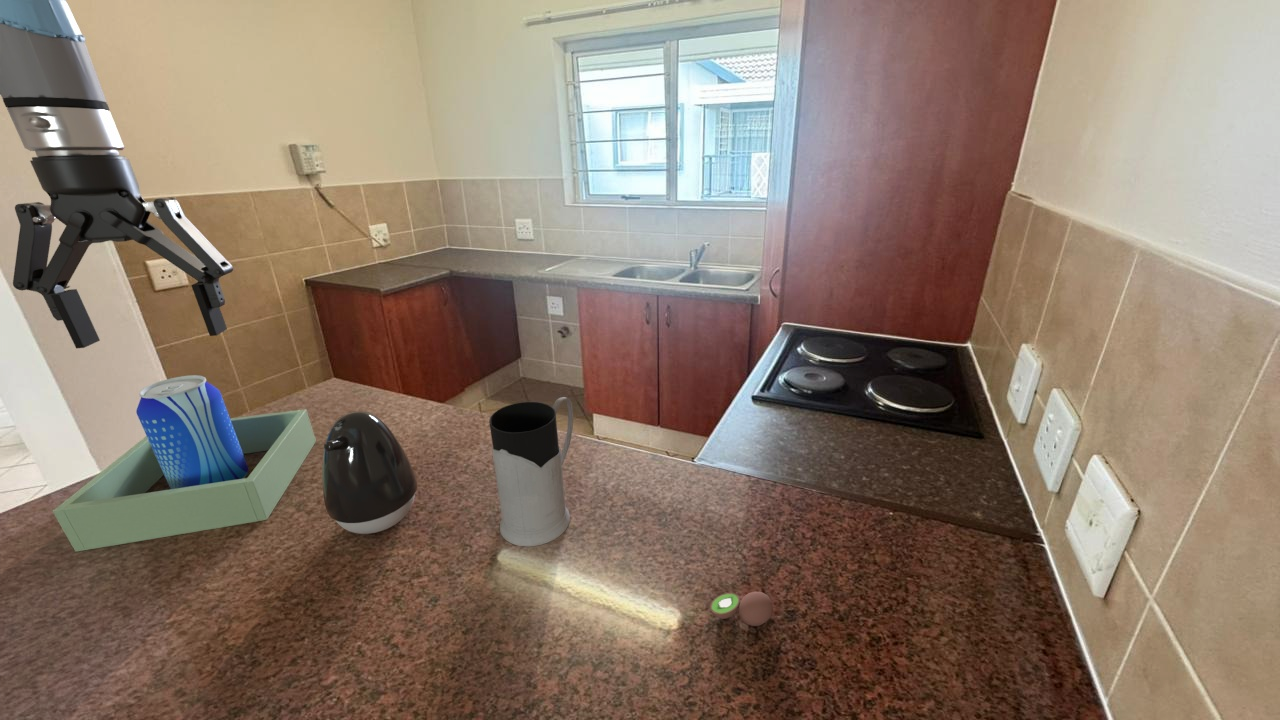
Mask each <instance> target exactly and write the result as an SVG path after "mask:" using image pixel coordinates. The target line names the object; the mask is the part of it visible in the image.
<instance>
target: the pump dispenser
mask: <svg viewBox="0 0 1280 720" xmlns="http://www.w3.org/2000/svg"><path fill="white" fill-rule="evenodd" d="M321 471H322V474H321V475H322V476H321V477H322V479H321V481H322V482H321V484H322V494H323V502H324V507H325V510H326V513H327V515H328V516H329V518H331V519H332V520H334V521H335V522H336V524H338V526H339V527H341V528H342V529H344V530H346V531H348V532H351V533H353V534H358V535H359V534H360V535H369V534H370V535H371V534H375V533H379V532H383V531H386V530H388V529H390V528H392V527H394V526H395V525H397V524H398V523H400V522H401V521H402V520H403V519H404V518H405V517H406V516H407V514H408V513H409V512H410V511H411V508H412V506H413V504H414V501H415V498H416V497H415V496H416V492H417V489H418V480H417V477H416V473H415V470H414V469H413V466H412V464H411V462H410V459H409V457H408V455H407V453H406V451H405V449H404V448H403V446H402V445H401V443H400V442H399V440H398V438H397V437H396V436H395V434H394V433H393V432H392V430H391V429H390V428H389V427H388V426H387V425H386V423H385V422H384V421H382V420H381V419H380V418H378V417H377V416H376V415H374V414H373V413H370V412H367V411H363V410H362V411H361V410H355V411H351V412H348V413H345V414H343V415H341V416H339V417H338V418H337V420H335V421H334V422H333V424H332V425H331V427H330V429H329V432H328V434H327V437H326V441H325V443H324V444H323V457H322V470H321Z"/></svg>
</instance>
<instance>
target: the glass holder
mask: <svg viewBox="0 0 1280 720" xmlns="http://www.w3.org/2000/svg"><path fill="white" fill-rule="evenodd" d="M563 402H565V403H566V406H567V429H566V433H565V434H566V435H565V440H564V444H563V447H562V450H561V447H560V445H559V436H558V435H559V434H558V423H557V412H558V409H559V407H560V405H561V404H562V403H563ZM488 421H489V422H488V423H489V429H490V436H491V441H492V450H491V453H492V460H493V467H494V474H495V480H496V487H497V494H498V500H499V508H500V513H501V519H500V522H499V532H500V533H499V534H500V535H501V536H502V538H503V539H504V540H505V541H506V542H508V543H510V544H512V545H515V546H519V547H537V546H541V545H545V544H548V543H551V542H552V541H554V540H556V539H557V538H559V537H560V536H562V534H563V533H564V532H566V530H567V528H568V527H569V525H570V521H571V513H570V511H569V509H568V508H567V506H566V496H565V485H564V474H563V473H564V472H563V465H564V463H565V459H566V456H567V454H568V451H569V449H570V447H571V446H570V445H571V440H572V435H573V430H574V429H573V427H574V407H573V402H572V401H571V399H570V398H568V397H565V396H563V397H559V398H557V399H556V400H555V402H554V403H553V404H552V406H551V405H550V404H547V403H543V402H538V401H522V402H516V403H512V404H509V405H505V406H503V407H501V408H499V409H497V410H496V411H495V412H493V413H492V414H491V415H490V417H489V420H488Z"/></svg>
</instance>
